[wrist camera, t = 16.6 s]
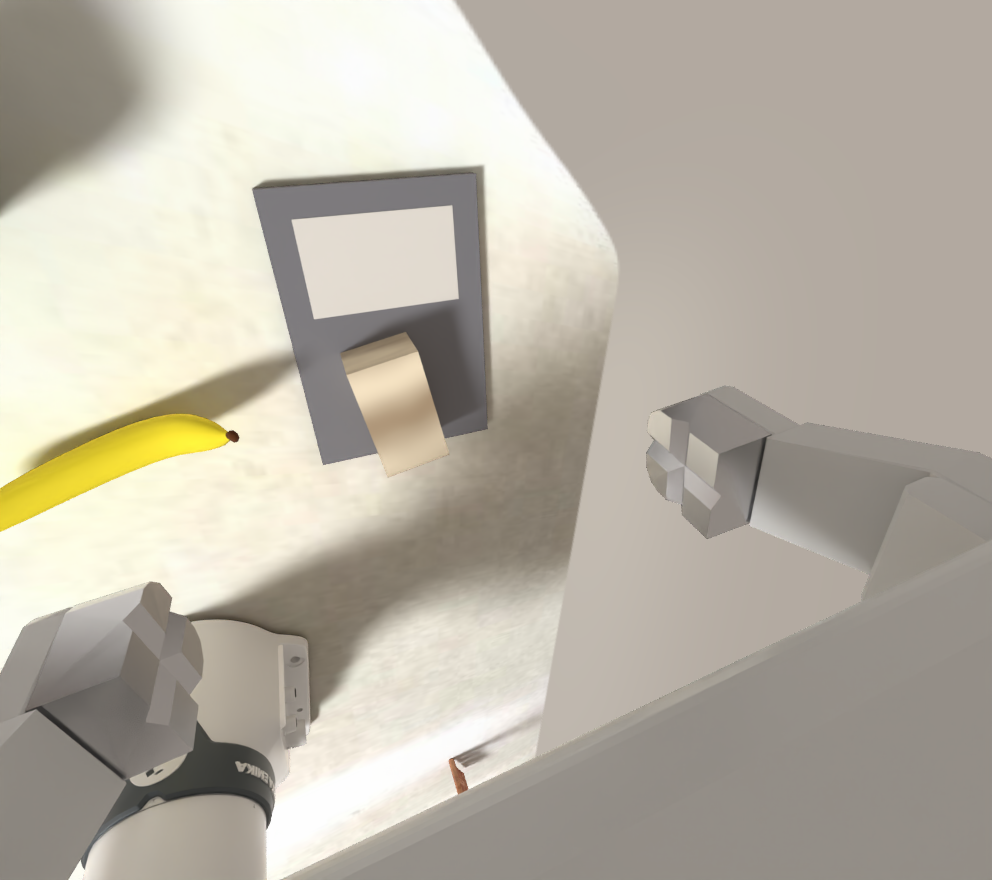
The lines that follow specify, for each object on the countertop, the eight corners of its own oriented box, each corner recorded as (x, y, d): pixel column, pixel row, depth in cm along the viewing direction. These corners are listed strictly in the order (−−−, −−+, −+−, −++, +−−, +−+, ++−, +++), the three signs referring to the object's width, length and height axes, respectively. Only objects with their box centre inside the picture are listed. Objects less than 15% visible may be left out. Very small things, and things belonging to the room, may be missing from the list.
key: (464, 767, 75) (501, 890, 63) (459, 771, 75) (495, 894, 63) (448, 753, 71) (484, 880, 60) (442, 757, 71) (477, 885, 59)
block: (436, 429, 44) (449, 454, 40) (379, 450, 43) (388, 477, 39) (405, 331, 38) (418, 351, 35) (339, 353, 37) (346, 375, 34)
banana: (-55, 489, 34) (-112, 555, 29) (230, 375, 36) (224, 417, 31) (-17, 519, 35) (-65, 586, 30) (252, 409, 38) (249, 453, 33)
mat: (484, 424, 46) (487, 429, 45) (322, 459, 42) (323, 465, 41) (472, 172, 35) (476, 173, 35) (252, 188, 31) (252, 189, 31)
